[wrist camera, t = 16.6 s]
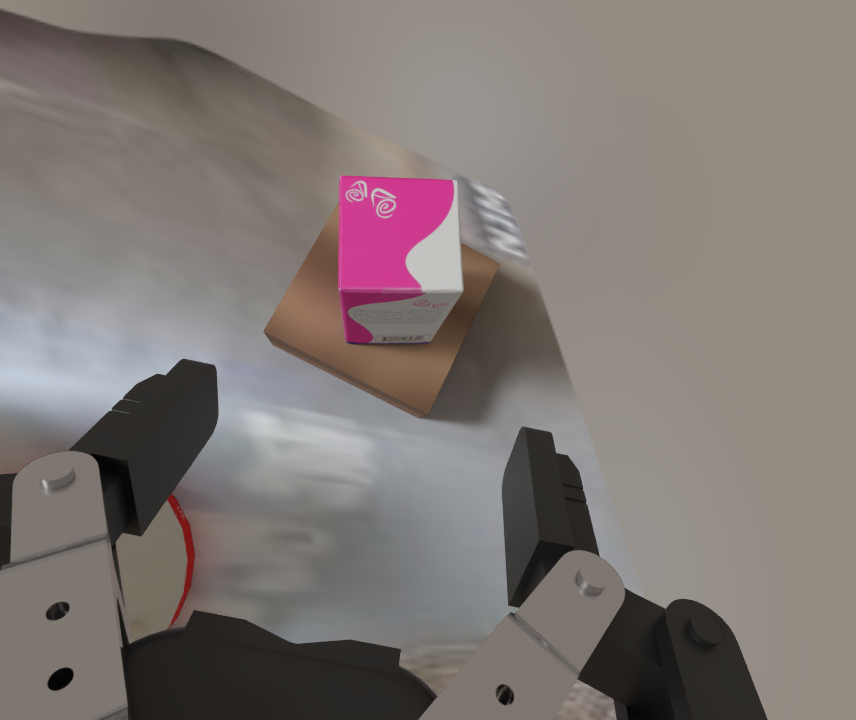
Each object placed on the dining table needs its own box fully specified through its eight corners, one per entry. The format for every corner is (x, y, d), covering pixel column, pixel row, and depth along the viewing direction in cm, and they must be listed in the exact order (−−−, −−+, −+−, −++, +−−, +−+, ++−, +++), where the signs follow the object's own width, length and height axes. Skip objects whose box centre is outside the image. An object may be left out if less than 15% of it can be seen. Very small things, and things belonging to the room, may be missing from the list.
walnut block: (417, 418, 38) (428, 414, 33) (273, 346, 37) (263, 331, 32) (481, 285, 41) (500, 263, 36) (348, 215, 40) (349, 183, 35)
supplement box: (428, 261, 35) (463, 177, 24) (430, 345, 34) (467, 299, 23) (343, 259, 34) (337, 170, 23) (343, 345, 33) (337, 297, 22)
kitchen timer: (-96, 577, 31) (-490, 698, 16) (92, 416, 34) (-94, 396, 19) (66, 736, 31) (-180, 997, 16) (239, 560, 34) (163, 646, 19)
